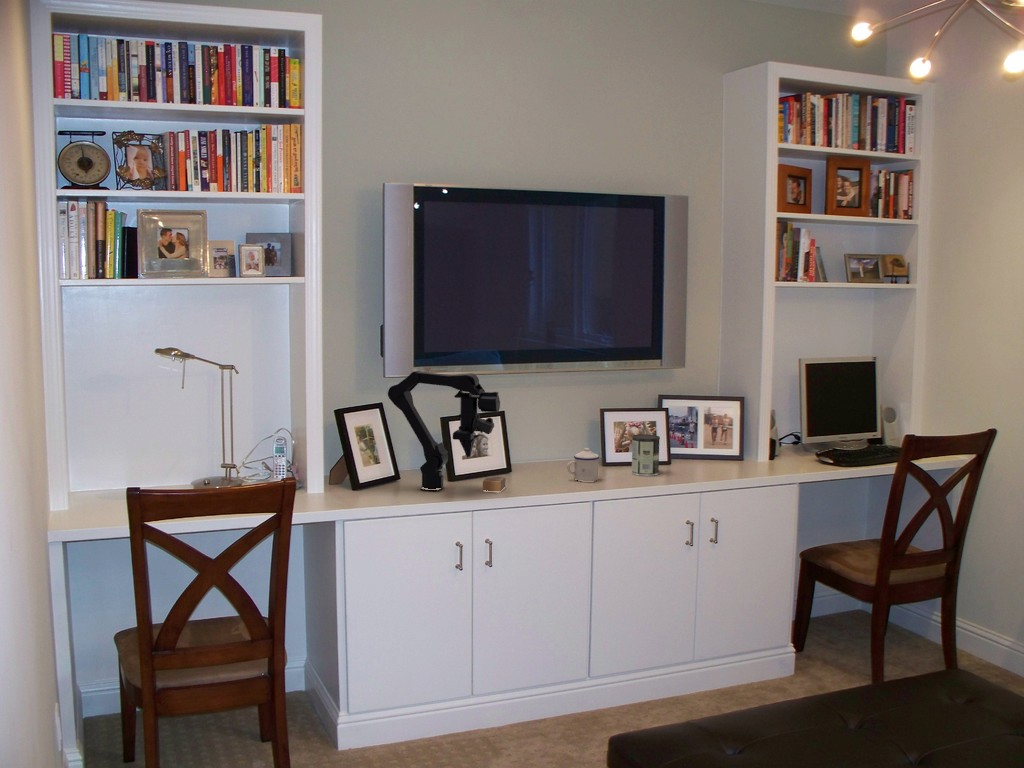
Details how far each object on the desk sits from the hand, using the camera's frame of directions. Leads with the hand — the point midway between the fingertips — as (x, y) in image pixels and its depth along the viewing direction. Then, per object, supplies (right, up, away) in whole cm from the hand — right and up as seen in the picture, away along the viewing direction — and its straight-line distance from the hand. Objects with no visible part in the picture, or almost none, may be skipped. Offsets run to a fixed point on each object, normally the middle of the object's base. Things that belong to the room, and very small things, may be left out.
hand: (468, 456), depth 314 cm
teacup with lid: (+40, -10, +21) cm, 46 cm away
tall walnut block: (+8, -10, -1) cm, 13 cm away
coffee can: (+65, -9, +34) cm, 74 cm away
